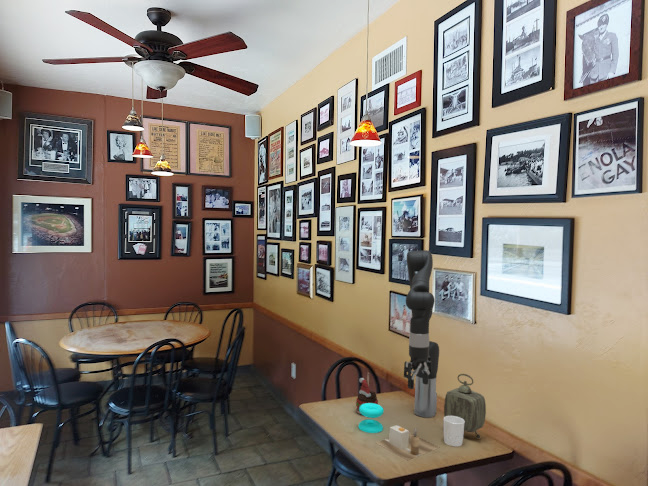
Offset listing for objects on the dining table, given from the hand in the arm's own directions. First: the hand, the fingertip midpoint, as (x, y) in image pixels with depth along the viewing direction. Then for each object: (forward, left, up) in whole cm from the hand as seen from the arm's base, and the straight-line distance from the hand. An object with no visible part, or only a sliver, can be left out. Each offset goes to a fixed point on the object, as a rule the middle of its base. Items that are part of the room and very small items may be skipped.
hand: (418, 386), depth 168 cm
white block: (+7, -2, -22) cm, 23 cm away
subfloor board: (+4, 0, -23) cm, 23 cm away
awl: (+7, +6, -22) cm, 23 cm away
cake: (-7, -34, -23) cm, 42 cm away
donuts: (+5, -19, -23) cm, 30 cm away
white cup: (-13, +8, -23) cm, 27 cm away
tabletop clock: (-23, +5, -23) cm, 33 cm away
